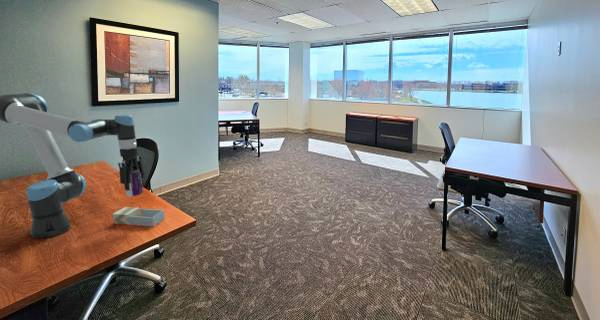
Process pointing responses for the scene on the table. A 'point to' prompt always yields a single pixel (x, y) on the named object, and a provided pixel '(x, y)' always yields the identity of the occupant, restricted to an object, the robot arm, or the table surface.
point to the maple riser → (125, 215)
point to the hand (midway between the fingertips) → (135, 193)
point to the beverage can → (136, 182)
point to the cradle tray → (147, 217)
